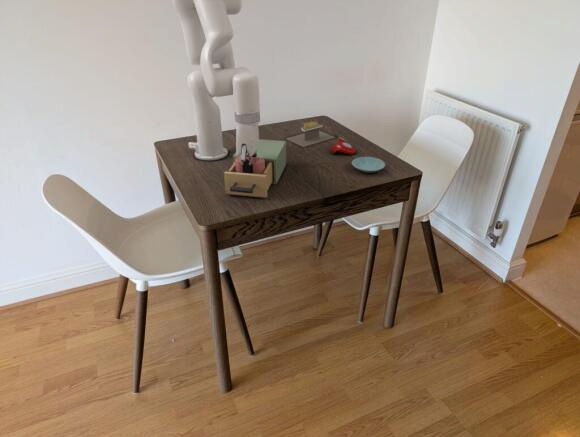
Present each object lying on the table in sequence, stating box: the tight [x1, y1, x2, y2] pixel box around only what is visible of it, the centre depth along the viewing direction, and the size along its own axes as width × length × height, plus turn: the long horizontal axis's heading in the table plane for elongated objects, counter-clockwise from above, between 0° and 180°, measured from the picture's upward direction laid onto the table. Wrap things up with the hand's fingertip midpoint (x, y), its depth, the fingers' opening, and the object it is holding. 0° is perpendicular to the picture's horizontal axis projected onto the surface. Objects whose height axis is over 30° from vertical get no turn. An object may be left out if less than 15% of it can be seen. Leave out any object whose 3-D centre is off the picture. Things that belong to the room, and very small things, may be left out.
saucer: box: [351, 156, 386, 174], centre depth 153 cm, size 12×12×2 cm
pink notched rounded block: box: [235, 157, 265, 175], centre depth 136 cm, size 10×4×5 cm, turn 79°
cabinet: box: [232, 138, 287, 185], centre depth 149 cm, size 17×15×9 cm
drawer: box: [223, 161, 274, 198], centre depth 137 cm, size 20×13×7 cm, turn 169°
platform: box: [285, 121, 336, 148], centre depth 178 cm, size 12×18×7 cm, turn 128°
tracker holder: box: [330, 136, 356, 155], centre depth 167 cm, size 12×4×10 cm
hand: (250, 171), depth 137 cm, fingers open, 4 cm apart
